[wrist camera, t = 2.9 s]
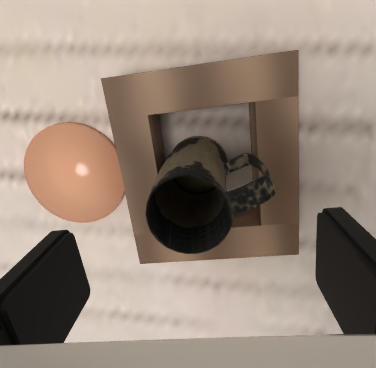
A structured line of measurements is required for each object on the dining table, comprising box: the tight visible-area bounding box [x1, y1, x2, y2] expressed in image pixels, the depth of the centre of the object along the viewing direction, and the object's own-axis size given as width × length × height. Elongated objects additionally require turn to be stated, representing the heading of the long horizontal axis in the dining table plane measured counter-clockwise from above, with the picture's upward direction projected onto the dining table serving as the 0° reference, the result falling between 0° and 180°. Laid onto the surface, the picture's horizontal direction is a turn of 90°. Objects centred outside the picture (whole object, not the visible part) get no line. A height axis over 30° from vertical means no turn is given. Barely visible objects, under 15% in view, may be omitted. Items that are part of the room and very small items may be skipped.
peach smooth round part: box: [24, 123, 125, 223], centre depth 27 cm, size 10×10×1 cm
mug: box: [145, 136, 277, 254], centre depth 20 cm, size 8×6×12 cm
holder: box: [101, 50, 299, 264], centre depth 24 cm, size 14×16×4 cm
